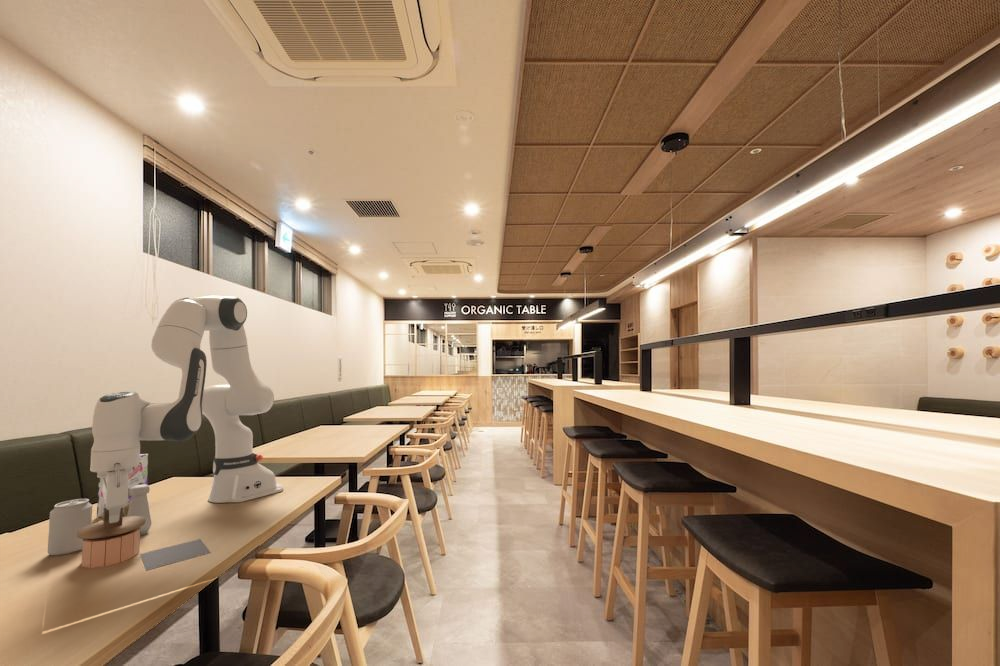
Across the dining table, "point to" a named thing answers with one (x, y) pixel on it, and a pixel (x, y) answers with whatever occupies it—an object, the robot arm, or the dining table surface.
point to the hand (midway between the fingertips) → (113, 519)
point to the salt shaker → (140, 505)
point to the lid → (110, 526)
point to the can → (68, 526)
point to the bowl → (110, 549)
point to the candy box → (134, 479)
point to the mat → (173, 554)
